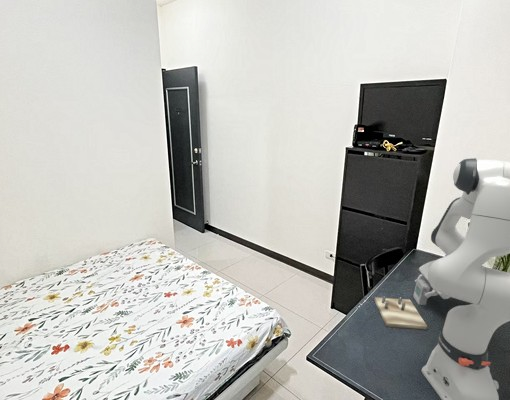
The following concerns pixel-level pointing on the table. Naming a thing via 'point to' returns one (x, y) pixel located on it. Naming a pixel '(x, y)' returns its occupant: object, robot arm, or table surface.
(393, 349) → the table surface
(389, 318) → the pin tray
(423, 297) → the drive
